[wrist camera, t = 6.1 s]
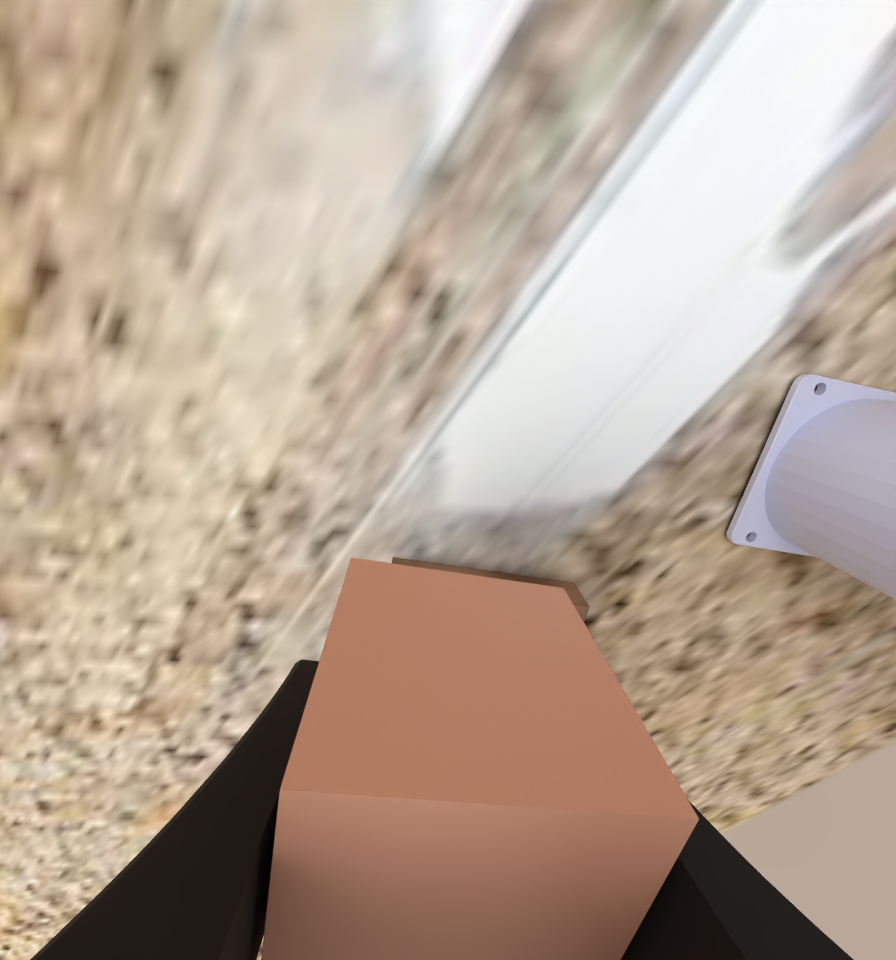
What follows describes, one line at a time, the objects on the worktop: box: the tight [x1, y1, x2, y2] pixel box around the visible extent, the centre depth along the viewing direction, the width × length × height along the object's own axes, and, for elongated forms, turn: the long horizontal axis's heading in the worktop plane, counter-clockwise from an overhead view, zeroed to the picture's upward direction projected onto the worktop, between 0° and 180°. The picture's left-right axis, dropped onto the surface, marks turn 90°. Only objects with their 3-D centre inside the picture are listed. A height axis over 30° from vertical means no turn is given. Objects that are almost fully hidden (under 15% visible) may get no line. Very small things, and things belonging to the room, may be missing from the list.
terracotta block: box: [261, 558, 699, 960], centre depth 8 cm, size 5×5×5 cm
